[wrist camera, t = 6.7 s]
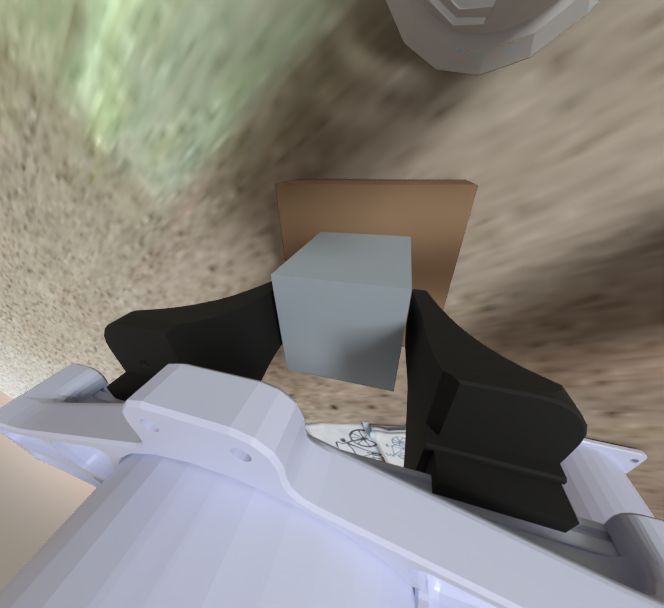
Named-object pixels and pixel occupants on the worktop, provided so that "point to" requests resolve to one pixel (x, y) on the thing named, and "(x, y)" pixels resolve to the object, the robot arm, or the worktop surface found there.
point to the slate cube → (345, 306)
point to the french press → (482, 29)
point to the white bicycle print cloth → (364, 439)
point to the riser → (384, 219)
